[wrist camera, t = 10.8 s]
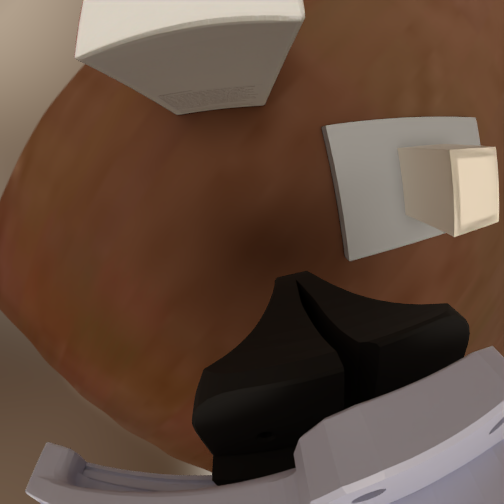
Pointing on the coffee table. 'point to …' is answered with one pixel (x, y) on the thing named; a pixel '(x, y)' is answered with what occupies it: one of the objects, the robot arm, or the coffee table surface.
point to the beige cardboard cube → (451, 186)
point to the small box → (190, 48)
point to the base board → (383, 177)
